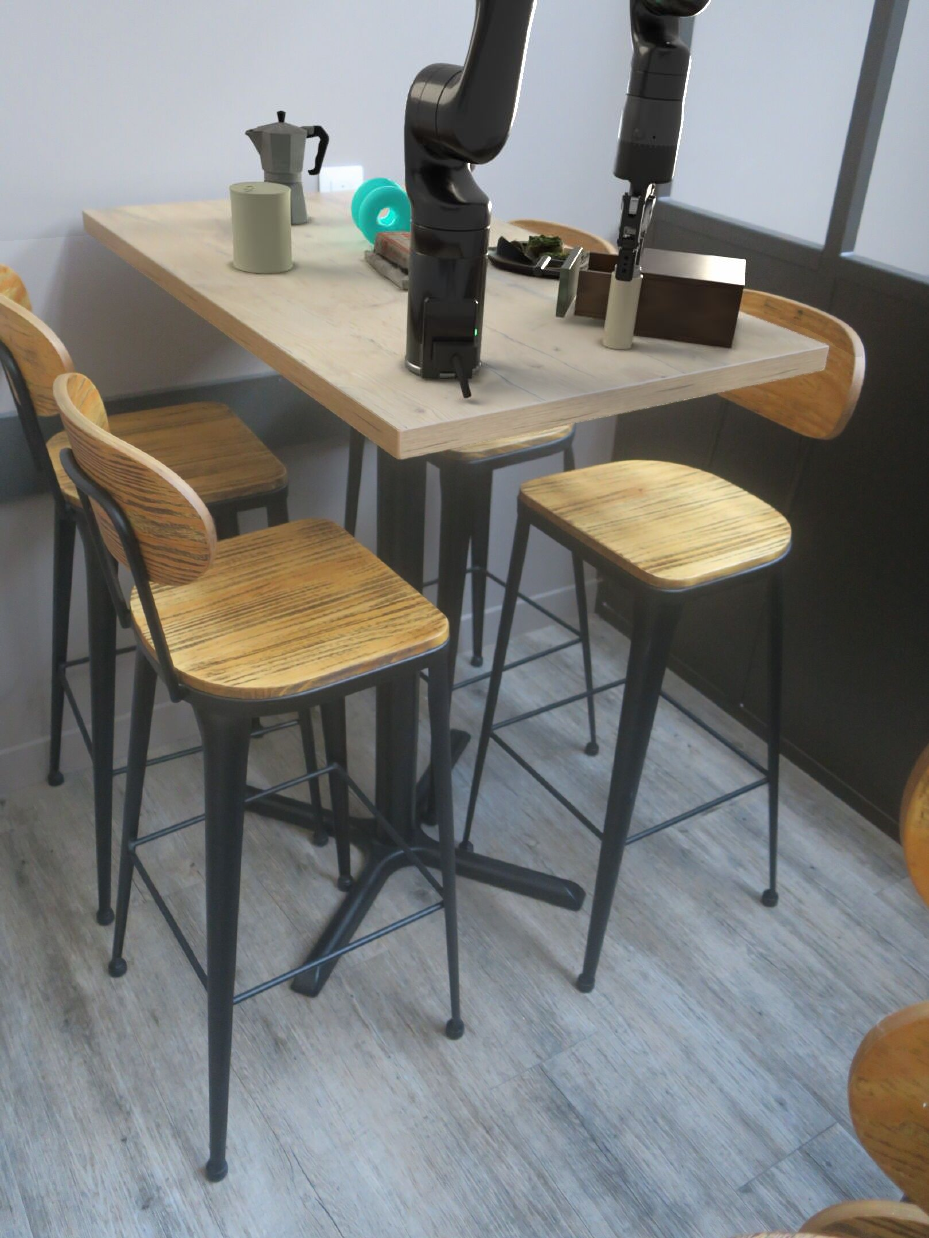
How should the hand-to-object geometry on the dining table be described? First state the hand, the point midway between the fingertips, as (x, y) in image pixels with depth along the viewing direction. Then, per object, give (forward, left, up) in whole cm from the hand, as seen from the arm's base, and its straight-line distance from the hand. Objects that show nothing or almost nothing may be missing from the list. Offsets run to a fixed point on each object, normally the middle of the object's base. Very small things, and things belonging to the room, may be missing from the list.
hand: (627, 273), depth 136 cm
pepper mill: (+1, 0, -10) cm, 10 cm away
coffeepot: (+68, +44, -10) cm, 82 cm away
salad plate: (+41, +3, -10) cm, 43 cm away
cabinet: (+9, -12, -10) cm, 18 cm away
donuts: (+52, +28, -10) cm, 60 cm away
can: (+35, +48, -10) cm, 60 cm away
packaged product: (+33, +25, -10) cm, 43 cm away
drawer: (+14, 0, -9) cm, 17 cm away
